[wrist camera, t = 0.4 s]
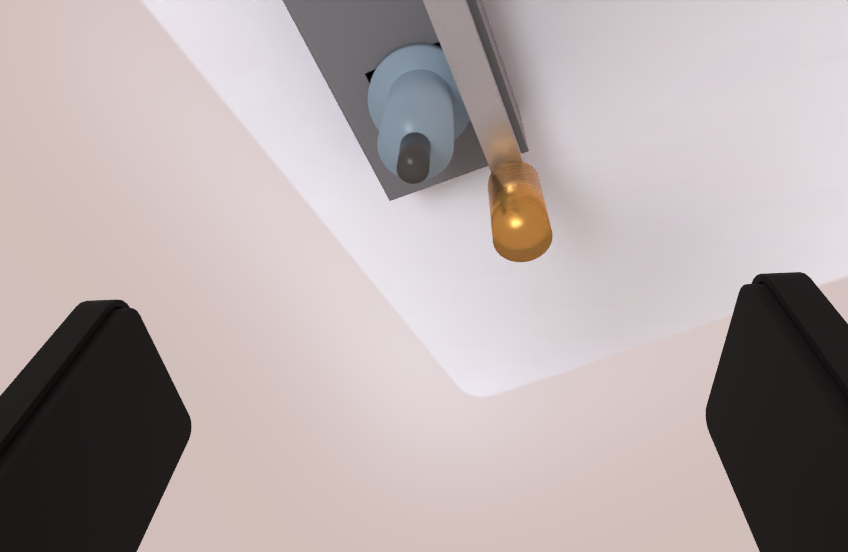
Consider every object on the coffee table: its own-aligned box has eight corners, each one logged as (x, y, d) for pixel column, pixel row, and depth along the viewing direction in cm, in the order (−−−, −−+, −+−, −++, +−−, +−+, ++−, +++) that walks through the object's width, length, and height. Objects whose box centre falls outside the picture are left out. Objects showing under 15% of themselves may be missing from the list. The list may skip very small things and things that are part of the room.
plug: (359, 47, 38) (323, 136, 27) (450, 7, 36) (449, 84, 26) (400, 132, 42) (382, 239, 31) (485, 99, 40) (496, 200, 29)
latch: (375, -94, 28) (355, -73, 23) (435, -125, 28) (430, -111, 22) (496, 202, 39) (503, 268, 33) (543, 186, 38) (559, 251, 32)
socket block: (279, -71, 36) (247, -51, 30) (429, -151, 33) (424, -145, 27) (396, 161, 45) (388, 210, 40) (520, 114, 42) (530, 159, 37)
